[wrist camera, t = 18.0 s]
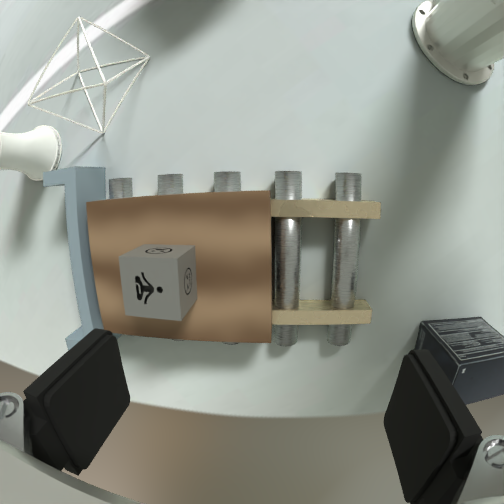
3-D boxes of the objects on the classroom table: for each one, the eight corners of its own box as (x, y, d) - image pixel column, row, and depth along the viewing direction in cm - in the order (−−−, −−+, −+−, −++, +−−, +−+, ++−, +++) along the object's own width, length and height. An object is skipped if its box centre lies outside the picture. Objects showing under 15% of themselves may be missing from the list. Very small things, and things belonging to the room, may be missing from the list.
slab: (101, 200, 30) (86, 202, 27) (270, 190, 28) (269, 191, 25) (116, 321, 33) (104, 331, 30) (272, 328, 31) (271, 342, 28)
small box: (409, 364, 34) (439, 413, 24) (419, 319, 33) (458, 363, 23) (469, 356, 33) (505, 396, 23) (481, 315, 32) (525, 350, 22)
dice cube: (144, 244, 27) (118, 256, 23) (195, 245, 27) (177, 258, 22) (148, 295, 28) (125, 315, 24) (197, 298, 28) (181, 321, 23)
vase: (22, 175, 33) (-29, 178, 24) (33, 123, 32) (-17, 116, 22) (55, 185, 33) (1, 190, 24) (68, 129, 32) (14, 120, 22)
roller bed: (105, 180, 33) (91, 181, 30) (372, 175, 30) (381, 174, 27) (119, 323, 36) (108, 333, 33) (360, 333, 34) (366, 345, 31)
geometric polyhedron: (136, 29, 28) (101, -3, 19) (168, 90, 30) (132, 63, 21) (63, 86, 30) (18, 71, 22) (85, 148, 32) (37, 143, 23)
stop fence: (73, 172, 33) (43, 172, 27) (105, 167, 32) (75, 166, 26) (91, 330, 37) (68, 349, 31) (121, 334, 37) (99, 356, 31)
